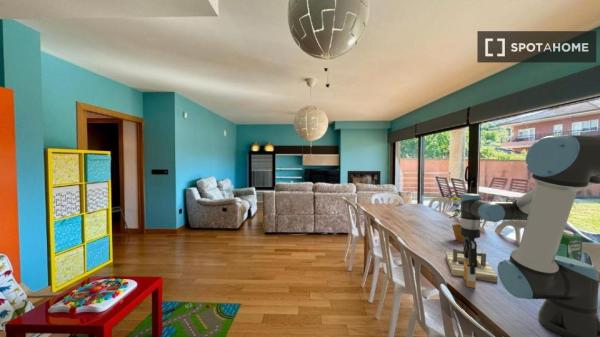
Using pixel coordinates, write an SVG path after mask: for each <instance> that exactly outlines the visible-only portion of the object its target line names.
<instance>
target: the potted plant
mask: <svg viewBox="0 0 600 337" xmlns="http://www.w3.org/2000/svg"><path fill="white" fill-rule="evenodd" d="M448 200H449V201H452V202H455V204H457V202H458V201H459V202H461V197H458V196H451V197H448ZM455 207H456V209H454V210H453V211H452V213H455V215H452V216H450V217H449V219H453V218H454V217H457V216H458V215H459V216H460V218H461V209H459V208H458V207H457V205H455ZM457 212H458V214H457ZM451 226H452V227H451V228H452V229H453V234H454V237H455V241H456V240H457V242H459V241H460V243H464V236H462V235H461V234H460V233H461V227H462V226H461V224H452V225H451Z"/></svg>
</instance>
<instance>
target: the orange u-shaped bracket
mask: <svg viewBox="0 0 600 337" xmlns="http://www.w3.org/2000/svg"><path fill="white" fill-rule="evenodd" d="M467 265H469V260H464V263H463V267H464V277H463V280H465V281H466V283H465V284H466V286H467V287H468V288H472V289H473V288H474V289H476V285H477V284H476V283H477V282H474V281H468V266H467Z"/></svg>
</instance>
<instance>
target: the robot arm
mask: <svg viewBox="0 0 600 337" xmlns="http://www.w3.org/2000/svg"><path fill="white" fill-rule="evenodd" d="M525 156H526V157H525V164H526V165H527V166H526V168H527V170H528V171H529V172H530V173H531V174H532V175H531V178H532V179H533V181H535V183H536V185H535V187H534V188H533V189H531V190H529V191H528V192H526V193H525V194H523V195H521V196H520V197H518V198H517V199H515V200H513V201H486V200H485V201H484V200H482V196H481V195H480V194H478V193H463V194H461V196H460V198H461V200H460V215H461V217H460V225H461V226H462V227H461V233H460V234H461V235H462V236H464V242H463V249H462V250H463V255H464V257H465V258H464V260H469V265H467V266H468V281H474V282H476V280H477V279H476V269H478V266H477V252H478V251H477V250H478V249H477V247H478V244H477V241H475V239H480V237H481V229H480V228H481V224H482V223H483V221H486V222H490V223H498V222H501V221H521V222H525V225H524V229H523V231H522V235H521V239H520V242H519V246H518V248H517V249H514V250H512V251H511V252H510V256H509V259H508V260H507V259H505V260H502V261H501V260H500V262H498V265H497V276H498V278H499V280H500V283H501V284H502V286H503V288H504V290H506V291H507V292H508V293H509V294H510V295H511V296H513V297H515V298H517V299H526V300H544V301H543V303H542V306H541V307H540V309H539V310H538V322H539V323H540V324H541V325H542V326H543V327H544V328H545V329H547V330H549V331H551V332H552V333H555V334H557V335H558V336H561V337H600V317H599V315H598V303H599V302H598V301H599V283H600V279H599V272H598V270H597V268H596V267H595V266H593V265H591V264H589V263H587V262H583V261H582V260H581V261H578V260H574V259H571V258H567V257H562V256H557V255H556V253H557V250H558V247H559V244H560V241H561V238H562V235H563V232H564V230H566V225H567V223H568V219H569V217H570V214H571V211H572V208H573V205H574V201H575V199H576V196H577V193H578V192H580V191H581V190H584V189H586V188H588V187H590V186H591V185H600V134H589V135H588V134H585V135H583V134H558V135H557V134H556V135H548V136H545V137H542V138H540V139H539V140H536V141H535V142H534V143H532V145H531V146H530V147H529V148H528V150H527V153H526V155H525ZM482 220H483V221H482ZM476 283H477V282H476Z"/></svg>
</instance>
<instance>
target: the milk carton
mask: <svg viewBox="0 0 600 337" xmlns="http://www.w3.org/2000/svg"><path fill="white" fill-rule="evenodd" d="M582 249H583V236H580V235H579V234H576V233H574V232H572V231H570V230H567V229H564V232H563V235H562V238H561V241H560V244H559V247H558V250H557V253H556V255H557V256H562V257H567V258H571V259H574V260H578V261H581V262H582V257H583V254H582V251H583V250H582Z"/></svg>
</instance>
